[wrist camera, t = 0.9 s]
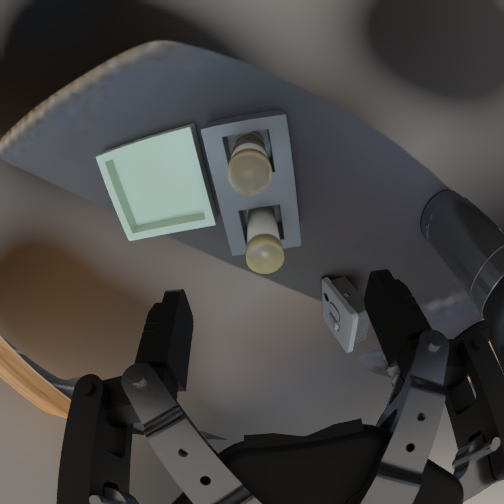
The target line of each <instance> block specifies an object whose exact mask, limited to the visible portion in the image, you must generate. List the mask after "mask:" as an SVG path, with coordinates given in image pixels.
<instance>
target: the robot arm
mask: <svg viewBox="0 0 504 504" xmlns="http://www.w3.org/2000/svg"><path fill="white" fill-rule="evenodd" d="M421 231H422V233H423V235H424V237H425V238H426V239H427V240H428V242H429V243H430V244H431V245H432V246H433V248H434V249H435V250H436V252H437V253H438V254H439V255H440V257H441V258H442V259H443V260H444V262H445V263H446V264H447V266H448V267H449V268H450V270H451V271H452V272H453V274H454V275H455V276H456V278H457V279H458V280H459V282H460V283H461V285H462V286H463V287H464V289H465V290H466V292H467V293H468V295H469V296H470V298H471V299H472V301H473V302H474V304H475V305H476V307H477V308H478V310H479V311H480V313H481V315H482V316H483V318H484V319H485V321H486V323H487V325H488V331H489V338H490V342H491V345H492V347H493V349H494V352H495V354H496V356H497V358H498V361H499V363H500V365H501V368H502V370H503V372H502V370H501V368H500V366H499V363H498V361H497V359H496V357H495V355H494V353H493V351H492V349H491V347H490V345H489V343H488V341H487V339H486V338H485V337H484V336H483V335H482V334H481V333H479V332H476V331H471V332H469V333H467V335H466V336H465V337H464V339H463V340H457V339H447V338H446V336H445V335H444V334H443V333H442V332H440V331H438V330H434V329H432V328H431V326H430V325H429V323H428V321H427V319H426V317H425V316H424V314H423V312H422V310H421V309H420V307H419V305H418V304H417V303H416V300H415V299H414V297H412V294H411V292H410V290H409V289H408V287H407V286H406V285H405V284H404V283H402V282H401V281H400V280H399V279H397V280H395V279H394V278H393V276H392V274H391V273H390V271H389V270H387V269H385V270H377V271H372V272H371V273H370V275H369V280H368V284H367V288H366V292H365V296H364V306H365V310H366V312H367V314H368V317H369V319H370V321H371V324H372V326H373V328H374V331H375V333H376V335H377V338H378V340H379V343H380V345H381V348H382V350H383V353H384V355H385V358H386V361H387V363H388V366H389V368H391V367H395V366H398V367H399V370H400V371H399V372H398V375H397V377H396V380H395V383H394V386H393V389H392V392H391V394H390V397H389V399H388V402H387V404H386V407H385V409H384V411H383V413H382V414H381V416H380V418H379V420H378V421H377V423H376V425H375V426H373V425H367V424H362V421H361V419H357V420H352V421H348V422H343V423H338V424H334V425H332V426H330V427H327V428H325V429H323V430H320V431H318V432H315V433H313V434H310V435H308V436H293V435H284V434H275V433H271V434H258V435H244V441H242V442H238V443H236V444H233V445H231V446H230V447H227V448H226V449H224V450H223V451H222V452H220V453H218V452H217V451H216V450H215V449H214V448H213V446H212V445H211V444H210V443H209V442H208V440H207V439H206V438H205V437H204V436H203V435H202V433H201V432H200V431H199V430H198V428H197V427H196V426H195V425H194V423H193V422H192V421H191V419H190V418H189V417H188V415H187V414H186V413H185V411H184V410H183V409H182V407H181V406H180V404H179V403H178V402H177V392H178V391H186V383H187V375H188V366H189V357H190V349H191V341H192V333H193V315H192V312H191V309H190V306H189V303H188V300H187V297H186V294H185V291H184V290H183V289H181V290H180V289H179V290H166V291H165V293H164V298H163V301H162V303H155V304H154V306H153V307H152V308H151V310H150V311H149V312H148V316H147V319H146V324H145V326H144V332H143V333H142V337H141V341H140V344H139V348H138V352H137V356H136V360H135V363H134V364H133V365H131V366H129V367H128V368H127V369H126V370H125V371H124V373H123V375H122V376H119V377H115V378H111V379H107V380H103V381H102V380H101V379H100V378H99V377H98V376H96V375H94V374H88V375H85V376H83V377H81V378H80V379H79V380H78V381H77V383H76V385H75V388H74V392H73V396H72V400H71V404H70V409H69V413H68V418H67V423H66V428H65V433H64V440H63V445H62V452H61V459H60V467H59V477H58V490H57V504H139V502H138V501H137V499H136V498H135V497H134V496H132V495H131V494H129V480H130V479H129V478H130V459H131V458H130V457H131V444H132V432H133V423H137V422H142V424H143V426H144V428H145V430H144V434H145V436H146V438H147V440H148V441H149V443H150V444H151V446H152V448H153V449H154V451H155V452H156V454H157V455H158V457H159V458H160V460H161V461H162V463H163V464H164V466H165V467H166V469H167V470H168V471H169V473H170V474H171V476H172V477H173V478H174V480H175V481H176V482H177V484H178V485H179V486H180V488H181V489H182V490H183V492H182V494H181V495H180V496H179V497H178V498H177V499H176V500H175V501H174V502H173V503H172V504H463V502H464V501H466V500H468V499H470V498H471V497H473V496H475V495H476V494H478V493H479V492H481V491H483V490H484V489H486V488H487V487H489V486H490V485H491V484H494V483H496V482H499V481H501V480H504V375H503V373H504V234H503V232H501V228H500V227H499V226H498V225H497V224H496V223H494V222H493V221H492V220H491V219H490V218H489V217H488V216H487V215H485V214H484V213H483V212H482V211H481V210H480V209H479V208H477V207H476V206H475V205H474V204H473V203H471V202H470V201H469V200H468V199H467V198H463V197H462V196H461V195H459V194H458V193H456V192H455V191H452V190H446V191H443V192H440V193H439V194H437V195H436V196H434V197H433V198H432V199H431V201H430V202H429V203H428V204H427V206H426V208H425V210H424V212H423V215H422V219H421ZM468 376H469V377H470V379H471V382H472V384H473V387H474V390H475V392H476V399H475V397H474V394H473V391H472V388H471V386H470V383H469V381H468V378H467V377H468ZM444 404H446V407H447V410H448V414H449V417H450V420H451V424H452V428H453V431H454V435H455V439H456V443H457V447H458V452H457V454H456V456H455V459H454V461H453V463H452V467H453V469H454V473H453V474H451V473H449V472H448V471H446V470H445V469H443V468H442V467H440V466H438V465H437V464H435V463H434V462H432V461H431V460H429V459H428V457H429V454H430V451H431V448H432V445H433V442H434V439H435V436H436V433H437V430H438V426H439V423H440V419H441V415H442V411H443V407H444Z"/></svg>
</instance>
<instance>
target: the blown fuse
mask: <svg viewBox="0 0 504 504" xmlns="http://www.w3.org/2000/svg"><path fill="white" fill-rule="evenodd" d="M227 179H228V182H229V184H230V186H231V187H232V188H233V189H234V190H235V191H236V192H238V193H240V194H243V195H256V194H259V193H261V192H263V191H264V190H265V189H266V188H267V187H268V186H269V184H270V182H271V180H272V169H271V165H270V162H269V159H268V156H267V152H266V146H265V142H264V139H263V137H262V136H261V135H260V134H259V133H257V132H255V131H253V132H247V133H241V134H238V135H237V136H236V138H235V140H234V143H233V150H232V154H231V159H230V162H229V165H228V170H227Z"/></svg>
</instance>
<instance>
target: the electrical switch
mask: <svg viewBox="0 0 504 504" xmlns="http://www.w3.org/2000/svg"><path fill="white" fill-rule="evenodd" d="M321 282H322V317H323V319H324V320H325V322H326V323H327V325H328V326H329V328H330V329H331V331H332V332H333V334H334V335H335V337H336V338H337V339H338V341H339V342H340V344H341V345H342V347H343V348H344V350H345V351H346V352H347V353H349V352H351V351H353V346H354V345H355V344H357V343H358V342H360V341H362V340H364V339H365V338H366V334H367V330H368V325H369V320H370V319H369V317H368V314H367V312H366V310H365V306H364V298H363V296H362V295H361V294H360V293H359V292H358V291H357V290H356V289H355V287H354V286H353V285H352V284H351V283H350V282H349V281H348V280H347V278H346V277H345V276H343V277H340V278H338V279H333V280H331V281H330V279H329V278H328V277H325V278H323V279H322V280H321ZM345 290H347V291H345ZM348 293H349V294H350V296H349V295H348Z"/></svg>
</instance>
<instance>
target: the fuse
mask: <svg viewBox="0 0 504 504" xmlns="http://www.w3.org/2000/svg"><path fill="white" fill-rule="evenodd" d="M246 262H247V265H248V266H249V268H250V269H252V270H253V271H255V272H257V273H262V274H267V273H272V272H274V271H276V270H278V269H279V268H280V267H281V266H282V264H283V262H284V254H283V248H282V244H281V242H280V237H279V232H278V226H277V221H276V211H275V206H274V205H272V206H265V207H259V208H252V209H247V246H246Z"/></svg>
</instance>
